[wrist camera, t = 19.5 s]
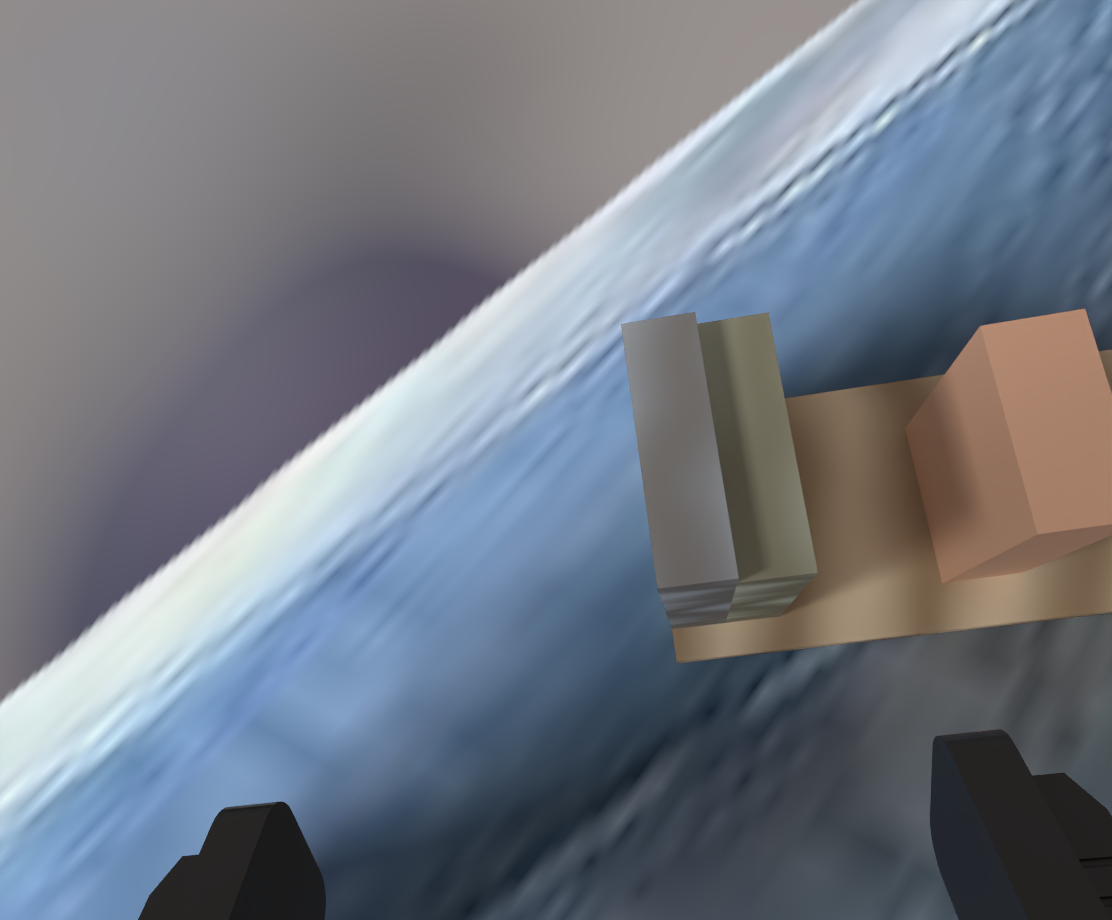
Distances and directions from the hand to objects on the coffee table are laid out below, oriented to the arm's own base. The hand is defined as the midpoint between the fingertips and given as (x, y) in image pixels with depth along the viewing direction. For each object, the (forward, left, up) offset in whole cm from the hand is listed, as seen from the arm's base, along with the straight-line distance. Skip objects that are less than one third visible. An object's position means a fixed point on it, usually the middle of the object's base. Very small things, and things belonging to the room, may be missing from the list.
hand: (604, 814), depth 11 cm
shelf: (+14, -7, -32) cm, 36 cm away
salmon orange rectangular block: (+15, -9, -31) cm, 35 cm away
